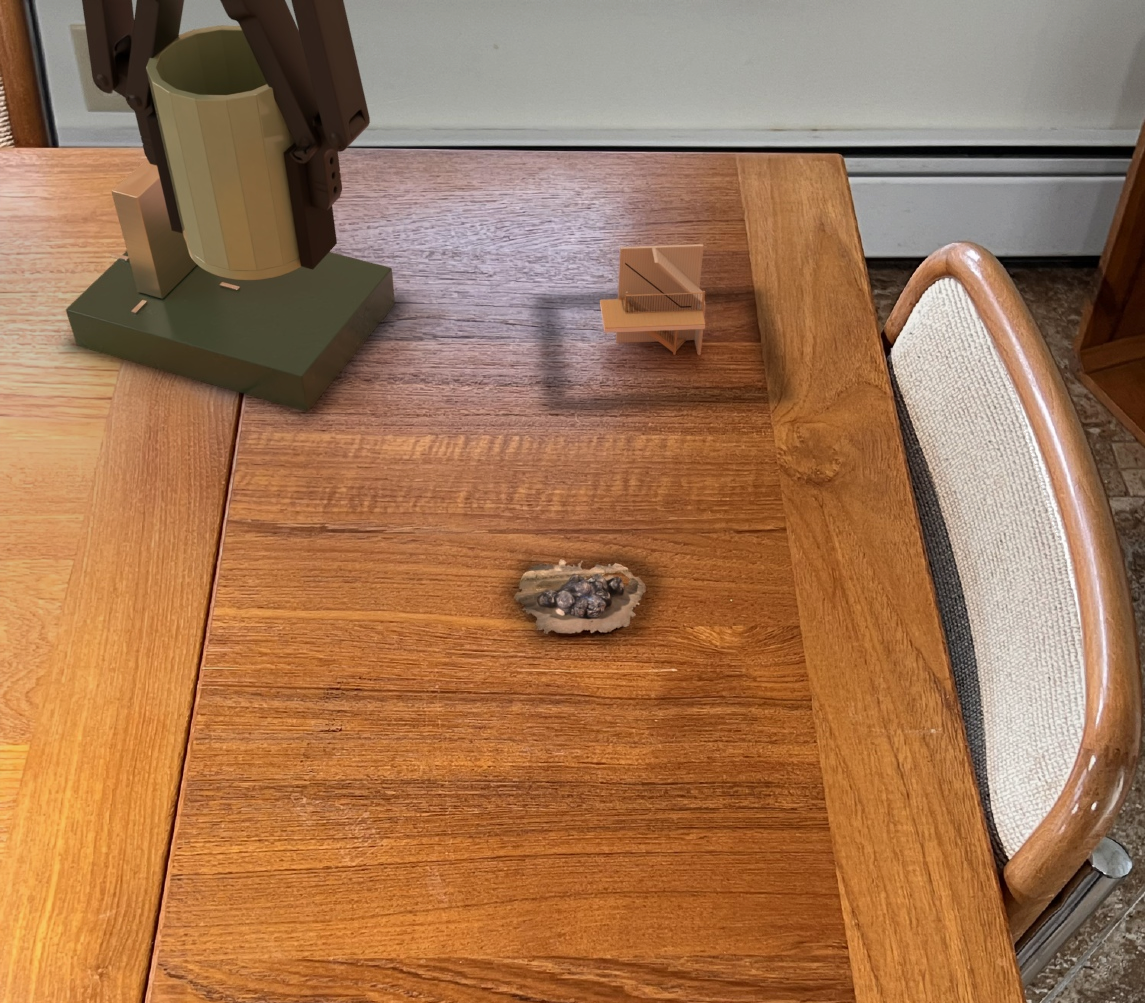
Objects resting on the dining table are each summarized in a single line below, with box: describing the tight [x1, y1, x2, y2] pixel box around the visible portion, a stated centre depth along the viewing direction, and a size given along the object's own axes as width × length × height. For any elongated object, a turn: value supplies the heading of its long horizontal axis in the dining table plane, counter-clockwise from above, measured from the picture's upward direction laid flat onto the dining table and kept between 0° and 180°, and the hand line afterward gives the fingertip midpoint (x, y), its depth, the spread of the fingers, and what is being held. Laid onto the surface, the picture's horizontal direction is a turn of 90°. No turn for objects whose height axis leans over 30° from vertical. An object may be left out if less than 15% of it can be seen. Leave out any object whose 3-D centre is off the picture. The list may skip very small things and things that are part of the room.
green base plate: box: [65, 250, 396, 413], centre depth 98 cm, size 19×13×3 cm
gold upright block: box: [111, 158, 197, 299], centre depth 95 cm, size 6×2×8 cm, turn 157°
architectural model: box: [599, 243, 707, 356], centre depth 95 cm, size 3×7×7 cm, turn 95°
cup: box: [146, 24, 301, 280], centre depth 75 cm, size 7×7×10 cm
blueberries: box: [513, 558, 647, 634], centre depth 83 cm, size 7×8×2 cm
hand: (254, 236), depth 78 cm, fingers closed on cup, 7 cm apart
